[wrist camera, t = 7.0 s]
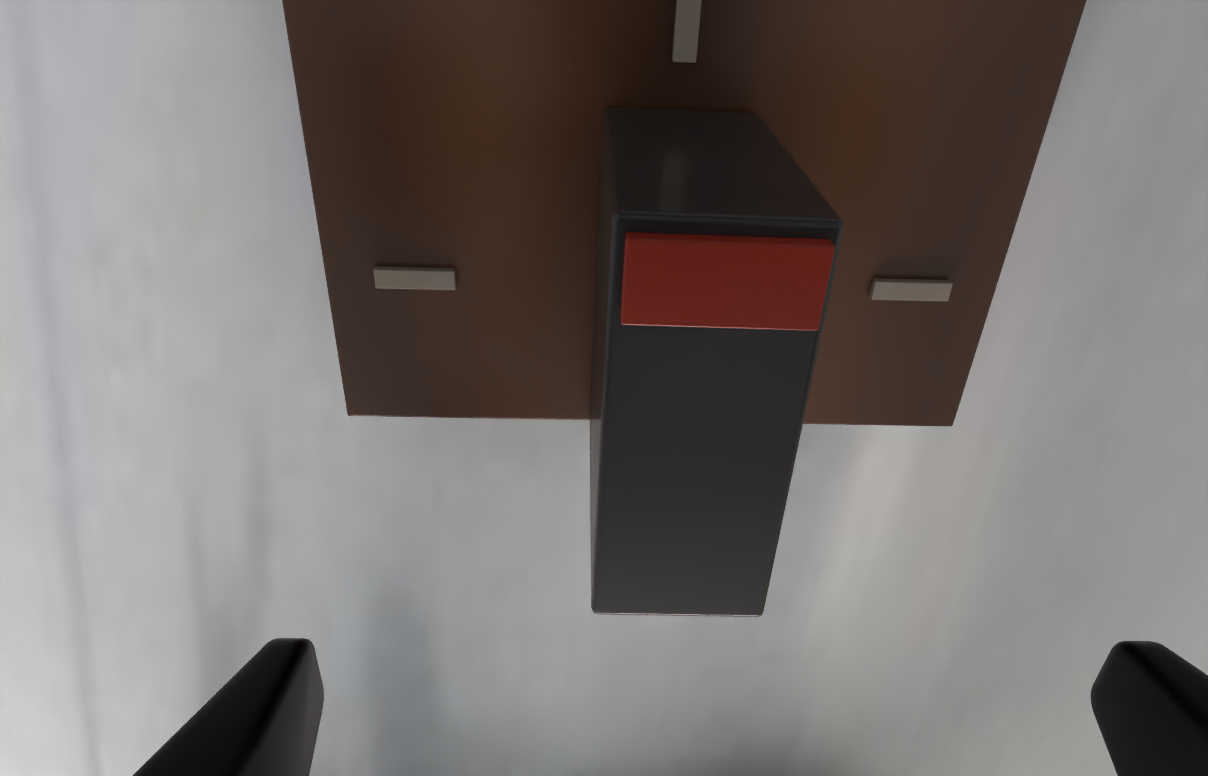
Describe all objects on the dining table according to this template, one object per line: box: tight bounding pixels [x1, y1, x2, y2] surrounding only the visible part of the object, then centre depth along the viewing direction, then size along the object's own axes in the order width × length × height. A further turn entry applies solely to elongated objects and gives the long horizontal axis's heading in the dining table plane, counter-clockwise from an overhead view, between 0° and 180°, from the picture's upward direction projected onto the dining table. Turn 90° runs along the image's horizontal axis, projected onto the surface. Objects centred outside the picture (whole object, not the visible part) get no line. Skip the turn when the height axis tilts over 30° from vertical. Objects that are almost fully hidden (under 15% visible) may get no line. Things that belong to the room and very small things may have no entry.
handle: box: [590, 107, 844, 617], centre depth 12 cm, size 6×2×5 cm, turn 177°
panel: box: [282, 0, 1086, 426], centre depth 15 cm, size 12×12×3 cm
